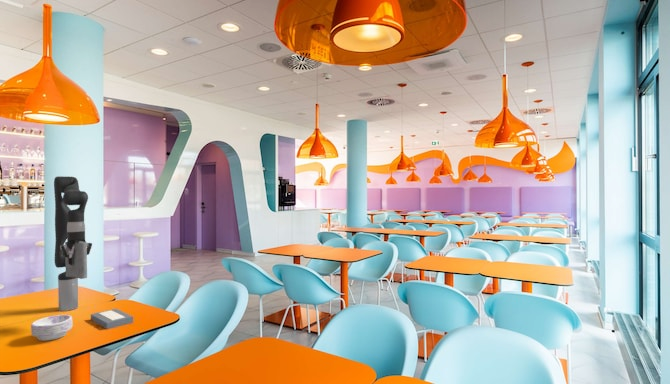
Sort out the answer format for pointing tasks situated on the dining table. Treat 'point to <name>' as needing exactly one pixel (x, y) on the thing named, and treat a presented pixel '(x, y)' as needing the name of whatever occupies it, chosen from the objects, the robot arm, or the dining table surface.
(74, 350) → the dining table surface
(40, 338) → the paper bowls
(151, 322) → the dining table surface
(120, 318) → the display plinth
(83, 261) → the hip flask
